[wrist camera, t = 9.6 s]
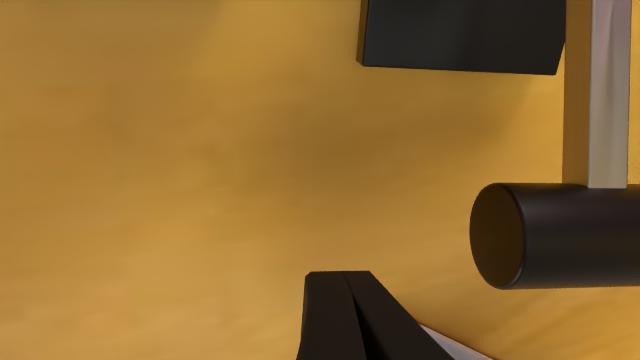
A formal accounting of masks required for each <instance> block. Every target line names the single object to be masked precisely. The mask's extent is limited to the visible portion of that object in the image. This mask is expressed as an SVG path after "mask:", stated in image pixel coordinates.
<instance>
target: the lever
mask: <svg viewBox="0 0 640 360" xmlns="http://www.w3.org/2000/svg"><path fill="white" fill-rule="evenodd" d="M631 14H632V0H566V29H565V74H564V120H563V165H562V183H492V184H490V185H488V186H486V187H484V188H483V189H482V190H481V191H480V193H479V194H478V196H477V197H476V199H475V202H474V204H473V207H472V211H471V216H470V227H469V235H470V245H471V251H472V255H473V259H474V261H475V264H476V267H477V269H478V271H479V273H480V274H481V276H482V277H483V279H484V280H485V281H486V282H487V283H488V284H489V285H491V286H493V287H495V288H497V289H501V290H513V289H550V288H588V287H625V286H640V184H627V176H628V136H629V95H630V54H631Z"/></svg>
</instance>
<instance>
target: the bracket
mask: <svg viewBox="0 0 640 360" xmlns="http://www.w3.org/2000/svg"><path fill="white" fill-rule="evenodd" d="M565 29H566V0H362V4H361V15H360V25H359V36H358V47H357V57H356V61H357V62H358V63H359V64H361V65H362V66H367V67H387V68H408V69H429V70H450V71H470V72H491V73H512V74H533V75H556V72H557V69H558V65H559V61H560V58H561V54H562V50H563V47H564V43H565Z"/></svg>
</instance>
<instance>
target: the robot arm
mask: <svg viewBox="0 0 640 360" xmlns="http://www.w3.org/2000/svg"><path fill="white" fill-rule="evenodd" d="M296 360H493V359H491V358H489V357H487V356H485V355H483V354H481V353H479V352H477V351H474V350H472V349H470V348H468V347H466V346H464V345H462V344H460V343H458V342H456V341H454V340H452V339H450V338H448V337H445V336H443V335H441V334H439V333H437V332H435V331H433V330H431V329H429V328H427V327H425V326H423V325H421V324H419V323H417V322H416V320H415V319H414V318H413V317H412V316H411V315H410V314H409V313H408V312H407V311H406V310H405V309H404V308H403V307H402V306H401V305H400V304H399V302H398V301H397V300H396V299H395V298H394V297H393V296H392V295H391V294H390V293H389V292H388V290H387V289H386V288H385V287H384V286H383V285H382V284H381V283H380V282H379V281H378V280H377V279H376V278H375V276H374V275H373V274H372V273H371V272H370V271H319V272H310V273H309V274H308V275H306V276H305V285H304V300H303V314H302V328H301V342H300V346H299V351H298V354H297V358H296Z"/></svg>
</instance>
